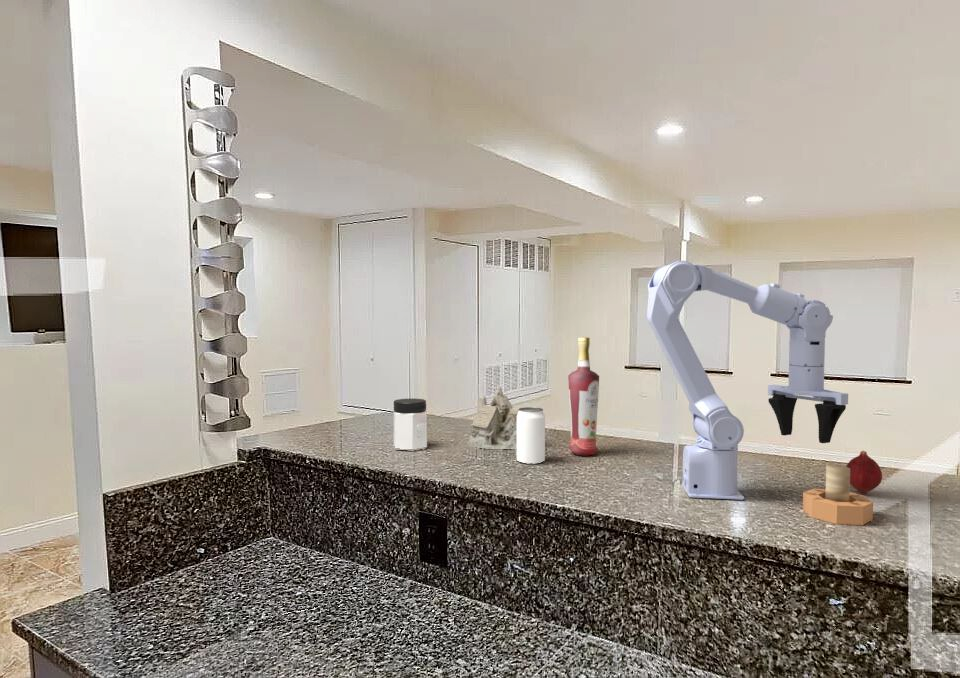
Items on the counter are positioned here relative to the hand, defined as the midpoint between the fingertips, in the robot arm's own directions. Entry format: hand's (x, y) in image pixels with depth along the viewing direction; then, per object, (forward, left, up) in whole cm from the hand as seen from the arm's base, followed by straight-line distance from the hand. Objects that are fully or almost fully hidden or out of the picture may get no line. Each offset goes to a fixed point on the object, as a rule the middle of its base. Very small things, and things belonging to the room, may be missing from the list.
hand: (804, 438), depth 109 cm
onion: (+11, +2, -11) cm, 15 cm away
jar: (-83, +26, -11) cm, 88 cm away
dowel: (+1, -12, -10) cm, 16 cm away
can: (-52, +17, -11) cm, 56 cm away
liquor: (-40, +26, -11) cm, 49 cm away
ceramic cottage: (-60, +33, -11) cm, 70 cm away
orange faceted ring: (+1, -12, -10) cm, 16 cm away
